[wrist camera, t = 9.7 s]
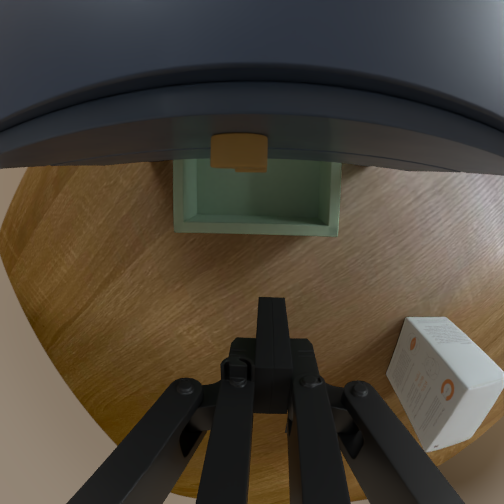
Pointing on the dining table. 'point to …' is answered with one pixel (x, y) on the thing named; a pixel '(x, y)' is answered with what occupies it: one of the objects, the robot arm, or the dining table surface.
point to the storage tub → (257, 198)
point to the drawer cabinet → (253, 83)
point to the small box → (442, 381)
